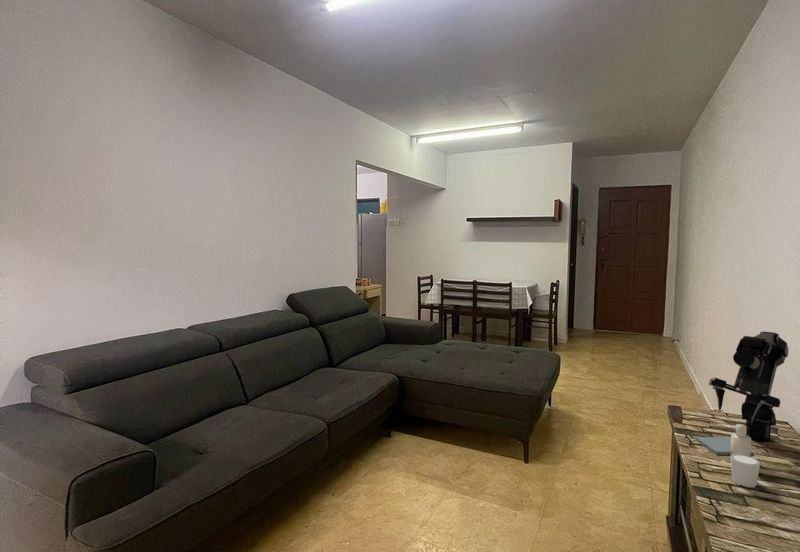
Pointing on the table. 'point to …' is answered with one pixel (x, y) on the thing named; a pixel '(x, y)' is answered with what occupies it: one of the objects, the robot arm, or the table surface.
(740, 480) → the shot glass
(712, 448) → the slate board
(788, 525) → the table surface
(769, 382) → the robot arm
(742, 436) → the cream bottle
